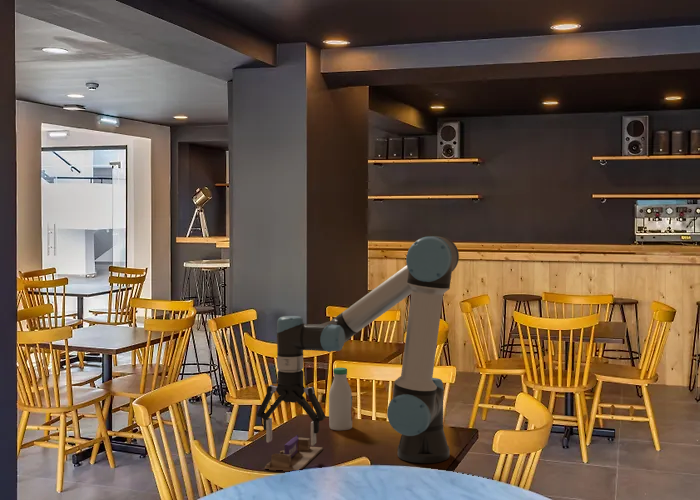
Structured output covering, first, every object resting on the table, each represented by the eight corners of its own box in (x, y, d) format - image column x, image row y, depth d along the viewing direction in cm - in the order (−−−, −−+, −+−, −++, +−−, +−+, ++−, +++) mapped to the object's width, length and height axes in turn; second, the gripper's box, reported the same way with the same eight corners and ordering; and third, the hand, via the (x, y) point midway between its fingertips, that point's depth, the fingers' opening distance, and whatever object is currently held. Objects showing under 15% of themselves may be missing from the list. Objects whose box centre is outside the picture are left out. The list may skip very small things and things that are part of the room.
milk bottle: (350, 431, 252) (349, 370, 251) (327, 430, 253) (326, 370, 253) (354, 425, 260) (353, 366, 259) (331, 424, 261) (331, 366, 260)
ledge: (291, 447, 235) (291, 435, 235) (322, 449, 232) (322, 437, 232) (264, 469, 213) (264, 456, 213) (298, 472, 211) (298, 459, 211)
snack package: (288, 462, 217) (287, 445, 217) (281, 462, 218) (281, 444, 218) (301, 451, 228) (300, 434, 228) (294, 450, 229) (294, 434, 229)
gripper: (245, 370, 222) (246, 443, 223) (327, 374, 215) (328, 449, 216) (255, 365, 229) (256, 436, 230) (335, 369, 223) (336, 441, 223)
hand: (291, 442), depth 223 cm, fingers open, 13 cm apart
